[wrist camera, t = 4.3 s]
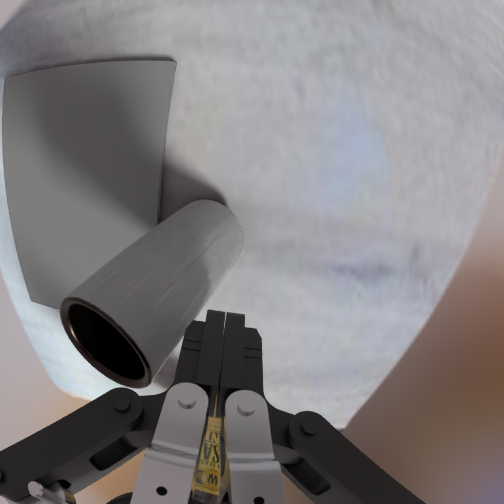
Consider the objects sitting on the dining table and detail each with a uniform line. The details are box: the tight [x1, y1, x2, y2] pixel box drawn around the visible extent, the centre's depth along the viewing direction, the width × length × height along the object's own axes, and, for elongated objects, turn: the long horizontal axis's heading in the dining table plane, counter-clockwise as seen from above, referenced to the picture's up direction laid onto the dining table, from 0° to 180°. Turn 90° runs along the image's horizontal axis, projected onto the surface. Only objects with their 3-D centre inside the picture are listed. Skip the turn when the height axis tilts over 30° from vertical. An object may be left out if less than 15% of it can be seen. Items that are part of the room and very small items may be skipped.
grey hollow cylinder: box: [60, 199, 243, 389], centre depth 14 cm, size 4×4×10 cm
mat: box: [2, 61, 177, 310], centre depth 17 cm, size 20×14×1 cm
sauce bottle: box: [193, 397, 221, 504], centre depth 19 cm, size 7×6×20 cm
